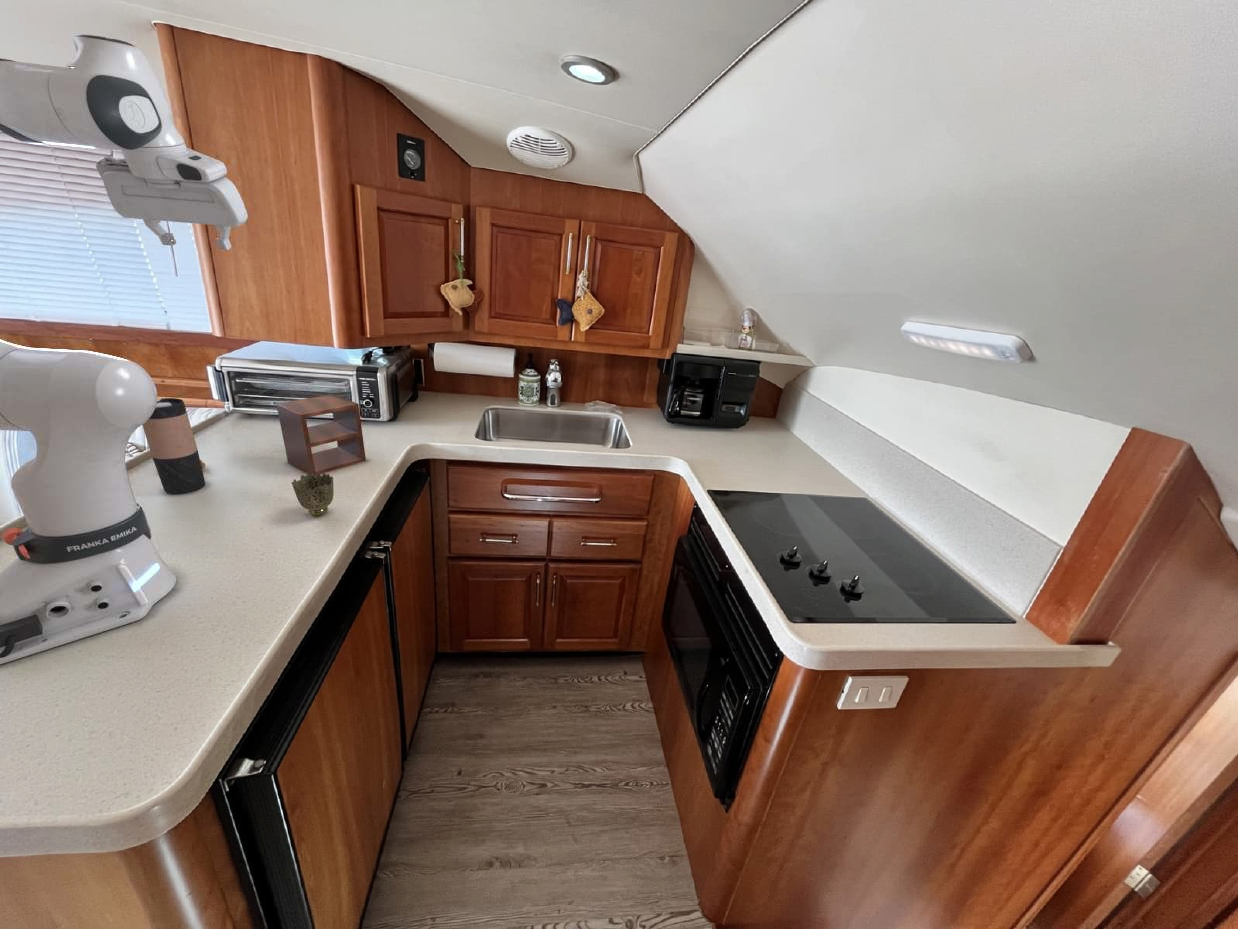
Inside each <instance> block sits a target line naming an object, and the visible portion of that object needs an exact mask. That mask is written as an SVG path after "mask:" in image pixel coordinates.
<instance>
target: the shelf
mask: <svg viewBox="0 0 1238 929" xmlns="http://www.w3.org/2000/svg"><path fill="white" fill-rule="evenodd" d="M275 405H276V410H277V415H278V419H279V425H280V430H281V434H282V435H281V436H282V439H283V444H284V450H285V455H286V460H287V463H288V465H290V466H293V467H294V468H296V469H298V470H300V471H302V472H303V473H305V474H306V475H307V474H309V473H312V474H314V475H316V474H318V473H320V475H323V474H324V473H325V474H327V473H329V472H333V471H336V470H340V469H343V468H346V467H350V466H353V465H357V464H360V463H363V462H367V457H366V450H365V443H364V442H365V441H364V436H363V435H364V434H363V428H362V421H361V413H360V404H359V403H357V402H355V401H352V400H349V399H347V398H344V397H342V396H339V395H338V394H337V395H336V394H326V395H321V396H315V397H309V398H303V399H298V400H291V401H285V402H279V403H275ZM328 414H332V418H333V421H329V422H324V423H321V424H315V425H311V426H308V422H307V418H312V417H317V416H322V415H323V416H324V415H328ZM334 442H336V444H337V445H336V447H333V448H330V449H329V448H328V449H325V450H320V451H317V452H313V450H312V448H314V447H318V446H323V445H327V444H330V443H334ZM316 476H317V475H316Z"/></svg>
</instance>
